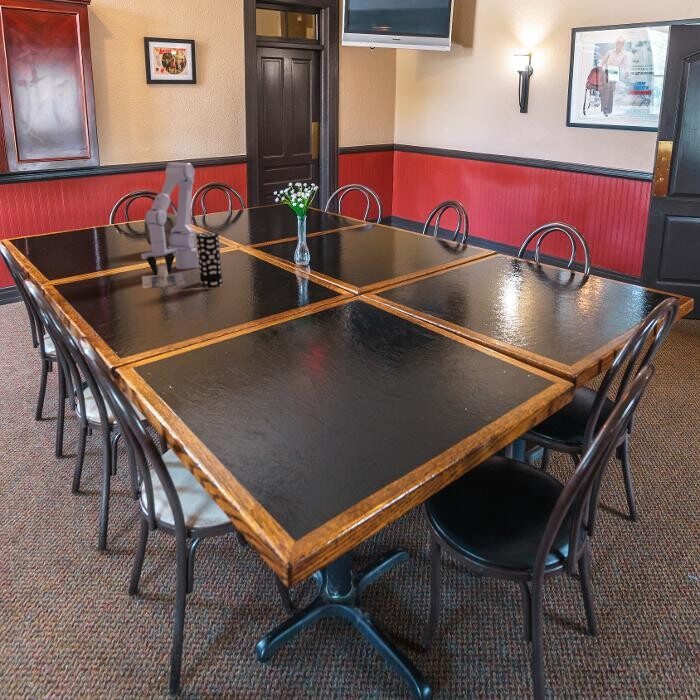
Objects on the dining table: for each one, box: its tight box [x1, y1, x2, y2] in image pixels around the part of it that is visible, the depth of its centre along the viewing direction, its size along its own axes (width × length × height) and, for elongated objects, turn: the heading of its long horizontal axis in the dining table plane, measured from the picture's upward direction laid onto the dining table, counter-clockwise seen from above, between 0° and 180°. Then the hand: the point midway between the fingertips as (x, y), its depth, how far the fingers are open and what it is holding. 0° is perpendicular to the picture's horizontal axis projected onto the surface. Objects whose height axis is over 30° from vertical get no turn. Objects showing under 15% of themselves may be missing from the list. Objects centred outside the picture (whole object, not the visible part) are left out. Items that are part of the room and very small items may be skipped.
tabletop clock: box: [144, 199, 182, 252], centre depth 308 cm, size 14×9×25 cm, turn 81°
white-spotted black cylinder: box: [195, 231, 223, 289], centre depth 256 cm, size 8×8×20 cm
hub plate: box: [141, 272, 186, 289], centre depth 263 cm, size 16×18×2 cm
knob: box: [156, 262, 169, 278], centre depth 268 cm, size 6×4×5 cm
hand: (162, 273), depth 268 cm, fingers open, 5 cm apart
